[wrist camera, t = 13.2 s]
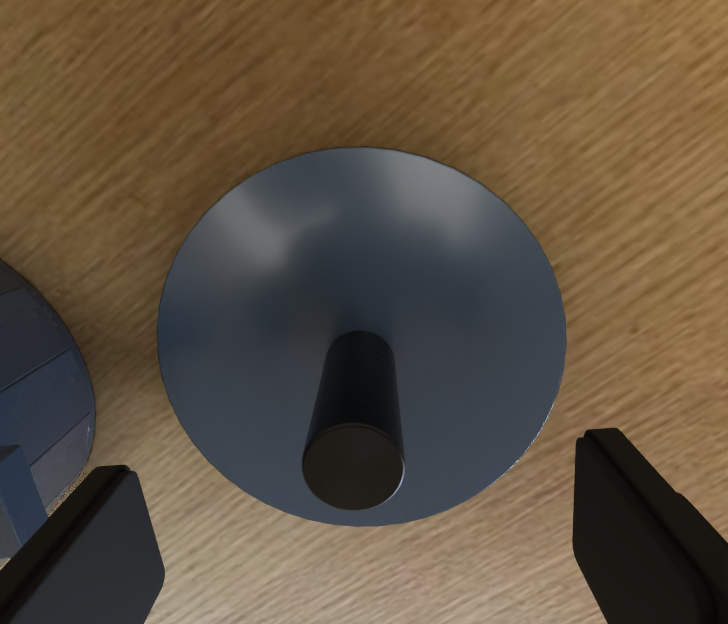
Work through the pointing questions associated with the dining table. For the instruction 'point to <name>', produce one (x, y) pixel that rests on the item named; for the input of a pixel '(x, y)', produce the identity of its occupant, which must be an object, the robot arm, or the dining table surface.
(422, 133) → the dining table surface
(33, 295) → the pot
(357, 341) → the lid
